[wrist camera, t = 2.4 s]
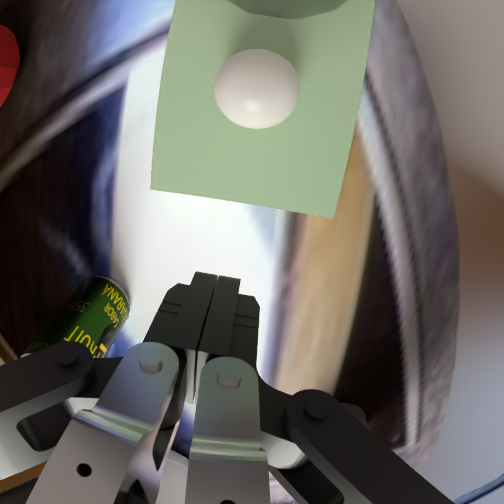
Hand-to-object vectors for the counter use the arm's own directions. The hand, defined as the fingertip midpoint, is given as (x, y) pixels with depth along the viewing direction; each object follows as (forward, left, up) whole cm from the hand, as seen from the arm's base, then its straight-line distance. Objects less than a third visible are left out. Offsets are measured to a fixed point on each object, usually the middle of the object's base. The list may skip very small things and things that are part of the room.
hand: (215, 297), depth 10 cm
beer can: (0, +16, -13) cm, 21 cm away
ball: (+5, -5, -8) cm, 11 cm away
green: (+8, -8, -13) cm, 17 cm away
